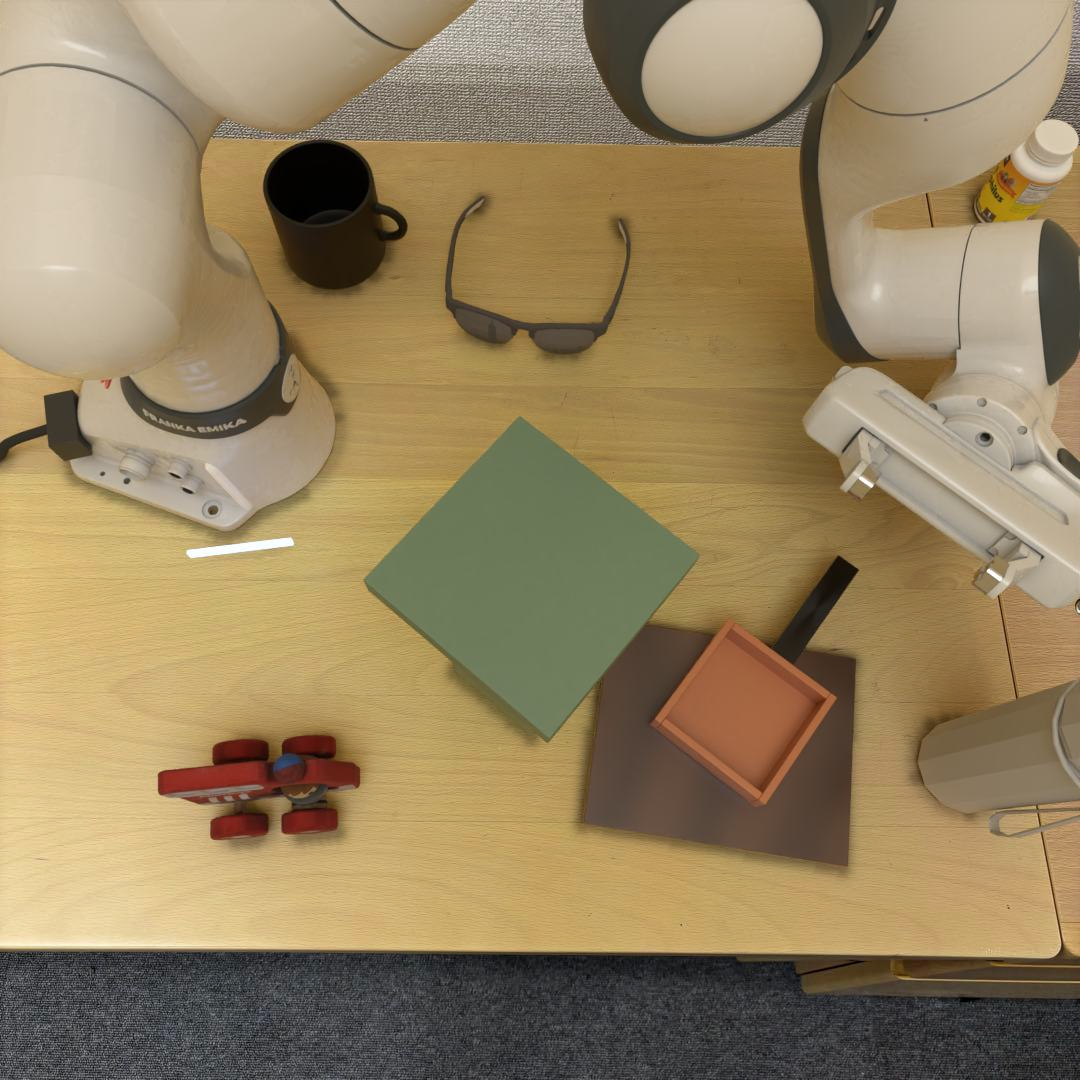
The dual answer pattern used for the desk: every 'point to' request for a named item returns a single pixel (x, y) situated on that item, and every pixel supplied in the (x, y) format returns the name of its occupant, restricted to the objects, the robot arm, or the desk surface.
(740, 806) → the board
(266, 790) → the toy fire truck
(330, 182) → the mug
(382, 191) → the desk surface
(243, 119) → the robot arm
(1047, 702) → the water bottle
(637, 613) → the stand
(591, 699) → the desk surface
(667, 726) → the pan
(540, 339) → the sunglasses
